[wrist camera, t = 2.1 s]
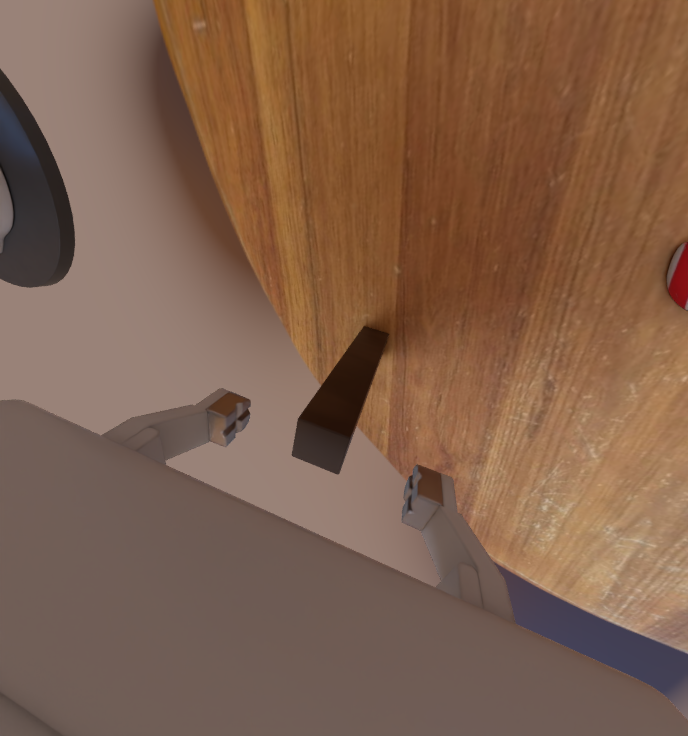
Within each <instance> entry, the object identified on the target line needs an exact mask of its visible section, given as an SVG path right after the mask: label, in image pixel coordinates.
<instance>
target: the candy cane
mask: <svg viewBox="0 0 688 736" xmlns="http://www.w3.org/2000/svg"><path fill="white" fill-rule="evenodd" d="M667 287H668V291H669V293H670V295H671V297H672V299H673V300H674V301H675V302H676V303H677V304H678V305H679V306H681V307H682V308H683V309H685V310H687V311H688V242H685V243H683V244H681V245H680V247H679V248H678V249H677V251H676V252H675V254H674V256H673V258H672V261H671V263H670V267H669V270H668V274H667Z"/></svg>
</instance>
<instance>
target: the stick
mask: <svg viewBox="0 0 688 736" xmlns="http://www.w3.org/2000/svg"><path fill="white" fill-rule="evenodd" d="M388 336H389V334H387V333H384V332H381V331H378V330H375V329H372V328H368V327H365V326H364V327H363V328H362V330H361V331H360V332H359V334H358V335H357V337H356V338H355V339H354V341H353V342H352V344H351V345H350V346H349V348H348V349H347V351H346V352H345V353H344V355H343V356H342V358H341V359H340V360H339V362H338V363H337V365H336V366H335V367H334V369H333V370H332V372H331V373H330V374H329V376H328V377H327V379H326V380H325V382H324V383H323V384H322V386H321V387H320V389H319V390H318V391H317V393H316V394H315V396H314V397H313V398H312V400H311V401H310V403H309V404H308V405H307V407H306V408H305V410H304V411H303V412H302V414H301V415H300V417H299V418H298V422H297V428H296V434H295V439H294V445H293V451H292V456H293V457H296V458H298V459H301V460H303V461H305V462H308V463H311V464H313V465H316V466H318V467H320V468H323V469H325V470H328V471H330V472H333V473H335V474H339V473H340V470H341V467H342V464H343V462H344V459H345V456H346V453H347V451H348V448H349V445H350V443H351V440H352V437H353V434H354V431H355V429H356V426H357V423H358V420H359V418H360V415H361V412H362V409H363V407H364V404H365V401H366V398H367V396H368V393H369V390H370V387H371V385H372V382H373V379H374V376H375V373H376V371H377V368H378V365H379V362H380V360H381V357H382V354H383V351H384V348H385V345H386V342H387V339H388Z"/></svg>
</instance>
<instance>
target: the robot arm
mask: <svg viewBox="0 0 688 736" xmlns="http://www.w3.org/2000/svg"><path fill="white" fill-rule="evenodd" d="M13 216H14V215H13V205H12V200H11V195H10V192H9V188H8V186H7V183H6V180H5V177H4V175H3V173H2V170H1V168H0V253H2V252H3V246H4V238H5V236H6V235H7V234H8V233H9V232H10V230H11V228H12V225H13ZM250 405H251V402H250V400H249V399H247V398H245V397H243V396H240V395H238V394H235V393H233V392H230V391H228V390H225V389H223V388H221V389H218V390H217V391H215V392H214V393H212V394H211V395H209V396H208V397H206V398H205V399H204V400H202V401H201V402H199V403H198V404H196V405H195V406H194V405H188V406H183V407H179V408H174V409H169V410H165V411H160V412H156V413H151V414H146V415H142V416H138V417H133V418H130V419H129V420H127V421H125V422H123V423H122V424H120V425H118V426H116V427H115V428H113V429H111V430H110V431H108V432H106V433H104V434H103V435H99V434H97V433H94V432H92V431H90V430H88V429H86V428H83V427H81V426H79V425H77V424H75V423H72V422H70V421H68V420H66V419H63V418H61V417H59V416H57V415H55V414H53V413H50V412H48V411H46V410H44V409H42V408H39V407H38V406H35V405H33V404H31V403H29V402H26V401H22V400H2V401H0V736H688V720H687V719H686V718H685V717H684V716H683V715H682V713H681V712H679V710H678V709H677V708H676V707H675V706H674V705H673V704H672V703H671V702H670V700H669V699H668V698H666V697H665V696H664V695H663V694H662V693H660V692H659V691H657V690H656V689H655V688H653V687H652V686H649V685H648V684H646V683H644V682H642V681H640V680H638V679H636V678H633V677H631V676H629V675H627V674H624V673H622V672H620V671H618V670H616V669H613V668H611V667H609V666H607V665H605V664H603V663H600V662H598V661H596V660H593V659H592V658H589V657H587V656H585V655H583V654H580V653H578V652H576V651H574V650H572V649H569V648H567V647H565V646H563V645H561V644H558V643H556V642H554V641H552V640H549V639H547V638H545V637H543V636H541V635H539V634H536V633H534V632H532V631H530V630H528V629H525V628H523V627H521V626H518V625H517V624H516V623H515V620H514V615H513V611H512V607H511V602H510V598H509V594H508V590H507V586H506V581H505V579H504V577H503V576H502V575H501V573H500V571H499V570H498V568H497V567H496V566H495V564H494V563H493V561H492V560H491V558H490V557H489V555H488V554H487V552H486V551H485V549H484V548H483V546H482V545H481V543H480V542H479V540H478V539H477V537H476V536H475V534H474V533H473V531H472V530H471V528H470V527H469V525H468V524H467V522H466V521H465V519H464V518H463V516H462V515H461V514H460V513H458V512H457V504H456V497H455V489H454V481H453V478H452V477H450V476H447V475H445V474H442V473H439V472H437V471H434V470H431V469H429V468H426V467H423V466H421V465H418V464H417V465H416V466H415V467H414V469H413V475H412V476H409V478H408V480H407V483H406V486H405V490H404V500H405V504H404V506H403V510H402V523H405V524H407V525H409V526H411V527H413V528H415V529H418V530H420V531H422V532H421V533H422V535H423V538H424V540H425V543H426V545H427V548H428V550H429V552H430V555H431V557H432V560H433V562H434V565H435V567H436V570H437V572H438V575H439V577H440V579H441V582H440V583H439V584H438V585H437V586H436V587H433V586H431V585H428V584H426V583H424V582H422V581H420V580H418V579H415V578H413V577H411V576H409V575H407V574H404V573H402V572H400V571H398V570H395V569H393V568H391V567H389V566H387V565H385V564H382V563H380V562H378V561H376V560H374V559H371V558H369V557H367V556H365V555H363V554H360V553H358V552H356V551H354V550H352V549H349V548H347V547H345V546H343V545H341V544H338V543H336V542H334V541H332V540H330V539H327V538H325V537H323V536H320V535H319V534H316V533H314V532H312V531H310V530H307V529H305V528H303V527H301V526H299V525H297V524H294V523H292V522H290V521H288V520H286V519H283V518H281V517H279V516H277V515H275V514H272V513H270V512H268V511H266V510H264V509H261V508H259V507H257V506H255V505H253V504H250V503H248V502H246V501H244V500H241V499H239V498H237V497H235V496H233V495H231V494H228V493H226V492H224V491H222V490H219V489H217V488H215V487H213V486H211V485H209V484H206V483H204V482H202V481H200V480H198V479H195V478H193V477H191V476H189V475H187V474H184V473H182V472H180V471H178V470H176V469H173V468H171V467H169V466H167V465H166V462H165V460H168V459H170V458H173V457H175V456H177V455H180V454H182V453H184V452H187V451H189V450H191V449H194V448H196V447H198V446H201V445H203V444H206V443H208V442H209V441H211V442H213V443H216V444H219V445H221V446H224V447H226V446H228V444H229V443H230V442H231V441H232V440H233V439H234V438H235V434H236V433H238V432H241V431H242V430H243V429H244V428H245V427H246V425H247V424H248V422H249V419H250V412H249V410H248V408H249V407H250Z"/></svg>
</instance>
